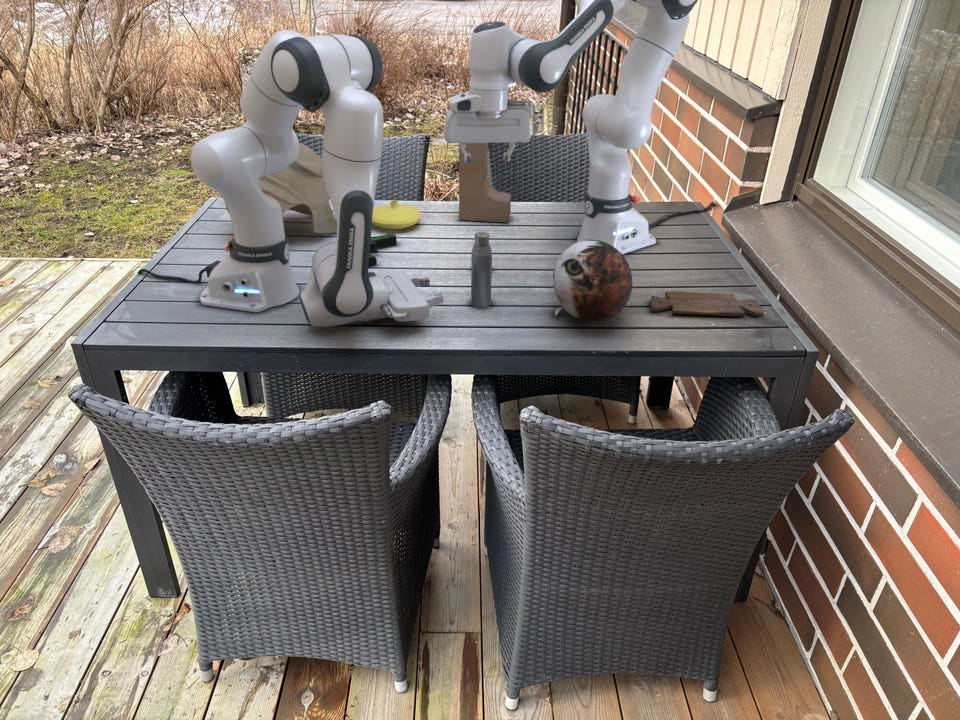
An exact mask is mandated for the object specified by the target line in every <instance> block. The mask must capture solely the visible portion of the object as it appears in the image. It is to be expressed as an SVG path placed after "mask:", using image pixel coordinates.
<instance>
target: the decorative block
mask: <svg viewBox="0 0 960 720" xmlns="http://www.w3.org/2000/svg"><path fill="white" fill-rule="evenodd" d="M488 144H489V143H466V148H464V149H465V151H466V153H470V154H471V158H470V159H471V162H464V154H463V152H462V150H461V148H460V146H459V145H458V218H459V220H461V221H474V222H491V223H504V224H505V223H506V224H507V223H508V222H509V220H510V217H511V212H512V211H511V210H512V209H511V208H512V194H511V193H508V192H503V191H498V190H496V189H495V188H494V187H492V186H491V184H490V180H489V178H488V149H489V148H488V146H489V145H488Z"/></svg>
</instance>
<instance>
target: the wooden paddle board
mask: <svg viewBox="0 0 960 720" xmlns="http://www.w3.org/2000/svg"><path fill="white" fill-rule="evenodd" d="M664 296H665V298H664V297H661V296H655V295H651V297H650V311H651V312H652V313H656V312H657V313H658V312H663V311H667V310H671V309H672V311H671V313H672V314H676V315H697V316H699V315H700V316H721V317H744V316H746V314H748V315H751V316H755V317H759V316H760V317H762V316H764V315H765V311H763V308H762V307H761V305H760V303H759V301H758V300H757V299H753V298H745V299H742V300H737V298H736V296H735V294H734V293H715V292H714V293H712V292H691V291H665V292H664Z"/></svg>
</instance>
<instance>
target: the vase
mask: <svg viewBox="0 0 960 720" xmlns="http://www.w3.org/2000/svg"><path fill="white" fill-rule="evenodd" d="M422 217H423V215H422V212H421V211H420V210H419V209H418V208H417V207H414V206H411V205H407V204H399V201H398V200H396V199H395V200H390V204H386V205H380V206H377V207H374V208H373V215H372V225H374V226H377V227H379V228H382V229H387V230H402V229H407V228H410V227H412V226H413V225H416V224H418V223H419V222H420V221H421V219H422Z"/></svg>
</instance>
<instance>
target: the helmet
mask: <svg viewBox="0 0 960 720" xmlns="http://www.w3.org/2000/svg"><path fill="white" fill-rule="evenodd" d="M243 124H244V123H239V124H238V126H237V127H240V126H242V125H243ZM259 184H260V187H261V190H262V192H263V193H264V194H267V195H269V196H271V197H273V198H274V199H276V200H277V201H278V202H279V204H280V206H281V210H282V216H283V215H284V214H285V213H286V212H287V211H288V210H290V211H293V212H296V213H299V214H303V215H305V216H309V217H311V219H312V232H313V233H317V234H328V233H329V234H330V233H337V221H336V216H335V213H334V211H333V208H332V207H331V204H330V197H329V195H328V192H327V190H326V187H325V184H324V181H323V173H322V156H320V155H319V154H318V153H317V152H316V151H314V149H312V148H311V147H310V146H308V145H306V144H304V143H301V142H299V155H298V158H297V159H296V161H295V162H293V163H292V164H290V165H289V166H287V167H286V168H284V169H283V170H281V171H279V172H276V173H273V174H269V175H266V176H263V177H260V178H259ZM224 204H225V209H226V211H227V213H228V214H229V210H228V208H227V205H226V203H225V202H224Z"/></svg>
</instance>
